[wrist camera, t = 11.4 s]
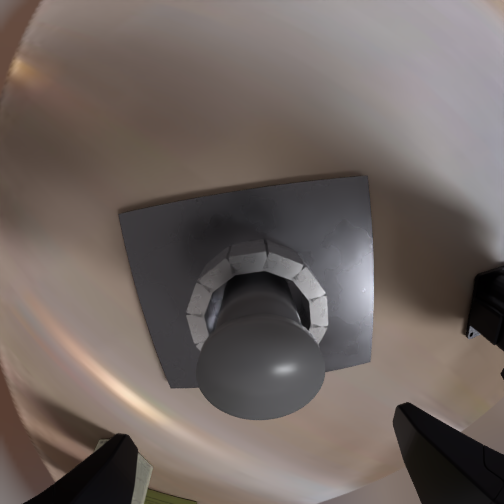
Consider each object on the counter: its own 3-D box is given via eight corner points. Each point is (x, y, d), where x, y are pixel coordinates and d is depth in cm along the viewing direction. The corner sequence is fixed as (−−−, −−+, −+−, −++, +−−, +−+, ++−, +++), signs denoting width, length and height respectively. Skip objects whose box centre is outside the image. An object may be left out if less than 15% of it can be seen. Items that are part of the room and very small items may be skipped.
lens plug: (292, 254, 18) (323, 313, 10) (300, 327, 19) (325, 410, 11) (209, 267, 18) (181, 332, 10) (225, 337, 19) (212, 423, 11)
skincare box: (98, 437, 24) (63, 514, 12) (125, 438, 23) (92, 524, 11) (128, 467, 25) (104, 539, 13) (155, 468, 25) (135, 547, 13)
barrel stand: (363, 175, 17) (388, 175, 13) (367, 357, 20) (383, 385, 17) (122, 213, 17) (95, 221, 14) (172, 383, 21) (162, 413, 17)
